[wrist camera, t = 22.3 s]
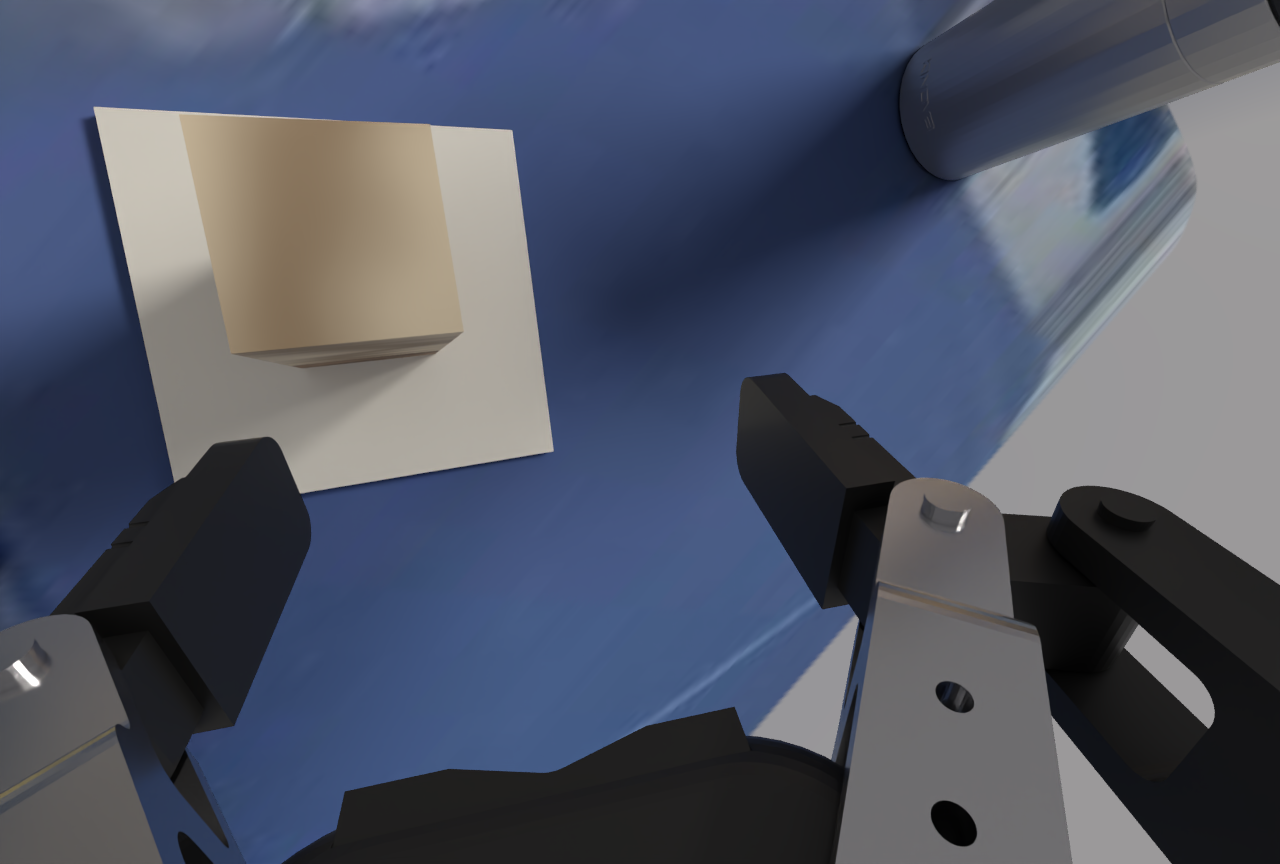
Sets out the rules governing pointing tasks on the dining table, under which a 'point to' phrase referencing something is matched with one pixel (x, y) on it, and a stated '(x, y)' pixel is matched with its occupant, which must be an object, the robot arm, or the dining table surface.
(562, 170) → the dining table surface
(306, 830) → the dining table surface
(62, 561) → the dining table surface
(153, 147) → the off-white mat
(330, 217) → the two-tone block
